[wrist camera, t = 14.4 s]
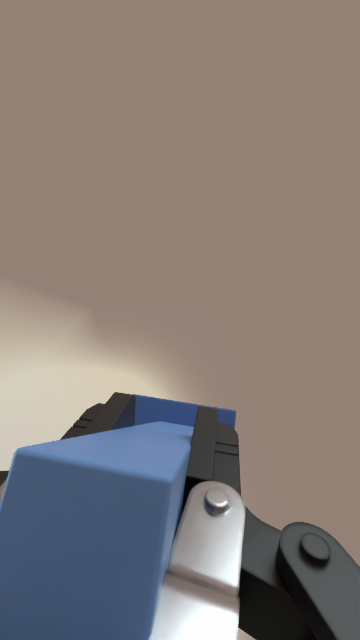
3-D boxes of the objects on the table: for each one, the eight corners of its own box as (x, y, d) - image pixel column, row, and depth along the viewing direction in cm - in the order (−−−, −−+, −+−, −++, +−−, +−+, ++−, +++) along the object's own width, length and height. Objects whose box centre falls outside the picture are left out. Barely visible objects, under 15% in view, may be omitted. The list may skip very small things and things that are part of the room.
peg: (304, 757, 3) (314, 407, 4) (-166, 616, 4) (-64, 350, 5) (224, 464, 21) (230, 410, 22) (140, 449, 22) (149, 397, 23)
